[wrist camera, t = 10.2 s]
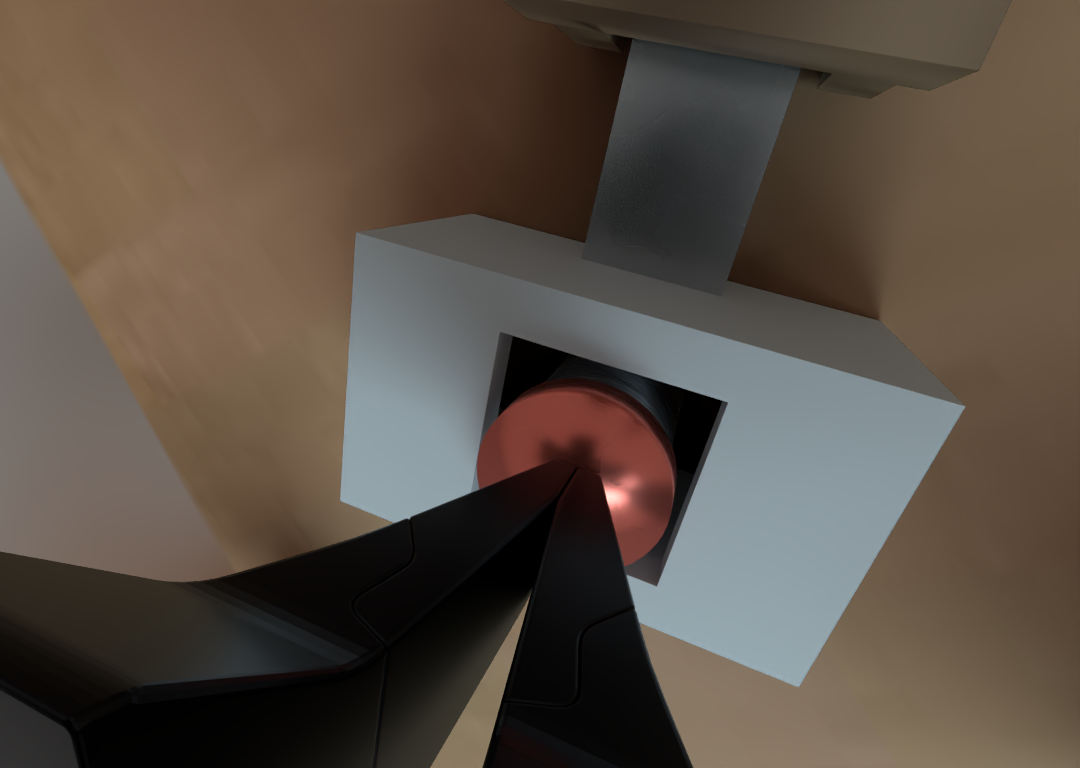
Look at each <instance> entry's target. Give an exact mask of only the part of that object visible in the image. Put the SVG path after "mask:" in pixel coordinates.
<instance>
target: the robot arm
mask: <svg viewBox="0 0 1080 768" xmlns="http://www.w3.org/2000/svg"><path fill="white" fill-rule="evenodd" d="M529 597H530V599H529V603H528V606H527V610H526V614H525V617H524V621H523V625H522V628H521V632H520V635H519V639H518V643H517V646H516V650H515V654H514V657H513V661H512V664H511V668H510V672H509V675H508V679H507V683H506V686H505V690H504V694H503V697H502V701H501V705H500V709H499V712H498V715H497V719H496V723H495V726H494V730H493V733H492V737H491V740H490V744H489V747H488V751H487V754H486V758H485V761H484V764H483V768H693V766H692V764H691V761H690V759H689V756H688V754H687V752H686V749H685V747H684V744H683V742H682V739H681V737H680V735H679V732H678V730H677V727H676V725H675V722H674V720H673V718H672V715H671V713H670V710H669V708H668V705H667V703H666V701H665V698H664V696H663V693H662V690H661V688H660V685H659V682H658V680H657V677H656V675H655V672H654V669H653V667H652V664H651V661H650V658H649V654H648V651H647V648H646V645H645V641H644V638H643V635H642V631H641V627H640V623H639V619H638V616H637V612H636V611H635V605H634V601H633V597H632V593H631V590H630V586H629V582H628V578H627V574H626V570H625V566H624V563H623V559H622V555H621V551H620V547H619V543H618V539H617V536H616V532H615V528H614V524H613V520H612V516H611V512H610V509H609V505H608V501H607V497H606V493H605V489H604V485H603V482H602V478H601V476H600V475H598V474H595V473H592V472H590V471H587V470H584V469H578V470H576V468H575V467H574V466H573V465H570V464H567V463H564V462H561V461H559V460H551V461H548V462H546V463H543V464H541V465H538V466H536V467H533V468H531V469H528V470H526V471H523V472H521V473H518V474H516V475H513V476H511V477H508V478H506V479H503V480H501V481H498V482H496V483H493V484H491V485H488V486H486V487H483V488H481V489H478V490H476V491H473V492H471V493H468V494H466V495H463V496H461V497H458V498H456V499H453V500H451V501H448V502H446V503H443V504H441V505H438V506H436V507H433V508H431V509H428V510H426V511H423V512H421V513H418V514H416V515H413V516H411V517H410V519H408V518H406V519H403V520H401V521H398V522H396V523H393V524H391V525H388V526H385V527H383V528H380V529H377V530H375V531H372V532H369V533H366V534H364V535H361V536H358V537H355V538H352V539H349V540H346V541H343V542H339V543H336V544H333V545H330V546H327V547H324V548H320V549H317V550H314V551H310V552H307V553H303V554H300V555H297V556H293V557H290V558H286V559H283V560H279V561H276V562H273V563H269V564H266V565H262V566H259V567H255V568H252V569H249V570H245V571H242V572H238V573H235V574H231V575H227V576H223V577H220V578H215V579H210V580H203V581H193V582H167V581H159V580H153V579H147V578H142V577H136V576H131V575H126V574H120V573H115V572H109V571H104V570H98V569H92V568H87V567H81V566H76V565H70V564H65V563H60V562H54V561H48V560H44V559H38V558H32V557H27V556H21V555H16V554H11V553H5V552H0V768H430V767H431V765H432V763H433V762H434V760H435V758H436V757H437V755H438V753H439V751H440V750H441V748H442V746H443V745H444V743H445V741H446V739H447V738H448V736H449V734H450V733H451V731H452V729H453V727H454V726H455V724H456V722H457V721H458V719H459V717H460V715H461V714H462V712H463V710H464V709H465V707H466V705H467V703H468V702H469V700H470V698H471V697H472V695H473V693H474V691H475V690H476V688H477V686H478V685H479V683H480V681H481V679H482V678H483V676H484V674H485V673H486V671H487V669H488V667H489V666H490V664H491V662H492V661H493V659H494V657H495V655H496V654H497V652H498V650H499V649H500V647H501V645H502V643H503V642H504V640H505V638H506V637H507V635H508V633H509V631H510V630H511V628H512V626H513V625H514V623H515V621H516V619H517V618H518V616H519V614H520V613H521V611H522V609H523V607H524V606H525V604H526V602H527V600H528V598H529Z"/></svg>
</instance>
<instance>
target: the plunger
mask: <svg viewBox="0 0 1080 768" xmlns="http://www.w3.org/2000/svg"><path fill="white" fill-rule="evenodd" d="M683 393H684V389H683V388H680V387H677V386H673V385H670V384H667V383H664V382H660V381H657V380H654V379H651V378H648V377H644V376H641V375H638V374H635V373H631V372H628V371H625V370H622V369H618V368H615V367H612V366H609V365H606V364H602V363H599V362H596V361H593V360H589V359H586V358H583V357H580V356H576V355H573V354H570V355H569V356H568V357H567V358H566V359H565V360H564V361H563V363H562V364H561V365H560V366H559V367H558V368H557V369H556V370H555V372H554V373H553V374H552V375H551V376H550V377H549V378H548V379H547V381H546V382H543V383H541V384H538V385H536V386H534V387H532V388H530V389H528V390H527V391H525V392H523V393H522V394H521V395H520V396H519V397H517V398H516V399H515V400H514V401H513V402H512V403H511V404H510V405H509V406H508V407H507V408H506V409H505V410H504V412H503V413H502V414H501V415H500V416H499V417H498V418H497V419H496V420H495V421H494V422H493V424H492V425H491V426H490V428H489V429H488V431H487V432H486V434H485V436H484V438H483V440H482V443H481V445H480V449H479V453H478V460H477V479H478V485H479V489H481V488H483V487H486V486H488V485H491V484H493V483H496V482H498V481H501V480H503V479H506V478H508V477H511V476H513V475H516V474H518V473H521V472H523V471H526V470H528V469H531V468H533V467H536V466H538V465H541V464H543V463H546V462H548V461H551V460H559V461H561V462H564V463H567V464H570V465H573V466H574V467H575V468H576V470H578V469H584V470H587V471H590V472H592V473H595V474H598V475H600V476H601V478H602V482H603V485H604V489H605V493H606V497H607V501H608V505H609V509H610V512H611V516H612V520H613V524H614V528H615V532H616V536H617V539H618V543H619V547H620V551H621V555H622V559H623V563H624V566H627V565H630V564H631V563H633V562H635V561H637V560H639V559H640V558H642V557H643V556H644V555H646V554H647V553H648V552H649V551H650V550H651V549H652V548H653V547H654V546H655V545H656V544H657V543H658V541H659V540H660V538H661V537H662V535H663V533H664V531H665V529H666V527H667V525H668V522H669V518H670V515H671V510H672V505H673V499H674V493H675V488H676V479H677V468H676V460H675V455H674V451H673V448H672V446H673V441H674V436H675V432H676V427H677V423H678V418H679V413H680V409H681V404H682V400H683Z"/></svg>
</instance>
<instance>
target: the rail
mask: <svg viewBox="0 0 1080 768" xmlns="http://www.w3.org/2000/svg"><path fill="white" fill-rule="evenodd" d="M800 70H801V68H799V67H793V66H787V65H782V64H776V63H770V62H765V61H759V60H754V59H748V58H742V57H737V56H731V55H726V54H720V53H714V52H709V51H703V50H697V49H692V48H686V47H681V46H675V45H669V44H664V43H658V42H652V41H647V40H641V39H636V38H633V39H632V44H631V48H630V52H629V56H628V61H627V65H626V69H625V74H624V78H623V82H622V87H621V91H620V95H619V99H618V104H617V108H616V112H615V117H614V121H613V125H612V130H611V134H610V138H609V143H608V147H607V151H606V155H605V160H604V164H603V168H602V173H601V177H600V181H599V186H598V190H597V194H596V198H595V203H594V207H593V211H592V216H591V220H590V224H589V229H588V233H587V237H586V242H585V246H584V250H583V254H582V259H584V260H588V261H591V262H595V263H599V264H603V265H606V266H610V267H614V268H617V269H621V270H625V271H628V272H632V273H636V274H640V275H643V276H647V277H651V278H654V279H658V280H662V281H665V282H669V283H673V284H677V285H680V286H684V287H688V288H691V289H695V290H699V291H702V292H706V293H710V294H714V295H717V296H722V293H723V290H724V287H725V285H726V282H727V279H728V276H729V273H730V270H731V267H732V265H733V262H734V259H735V256H736V253H737V250H738V247H739V245H740V242H741V239H742V236H743V233H744V230H745V227H746V225H747V222H748V219H749V216H750V213H751V210H752V207H753V205H754V202H755V199H756V196H757V193H758V190H759V187H760V185H761V182H762V179H763V176H764V173H765V170H766V167H767V165H768V162H769V159H770V156H771V153H772V150H773V147H774V144H775V142H776V139H777V136H778V133H779V130H780V127H781V124H782V122H783V119H784V116H785V113H786V110H787V107H788V104H789V102H790V99H791V96H792V93H793V90H794V87H795V84H796V82H797V79H798V76H799V73H800Z"/></svg>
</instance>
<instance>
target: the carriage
mask: <svg viewBox="0 0 1080 768" xmlns="http://www.w3.org/2000/svg"><path fill="white" fill-rule="evenodd" d="M503 1H504V2H505V3H507V4H508V5H509V6H511V7H512V8H513V9H515V10H516V11H517V12H519V13H520V14H521V15H523V16H524V17H525V18H527V19H529V20H534V21H540V22H546V23H551V24H554V25H555V26H556V27H557V28H558V29H560V30H561V31H562V32H563V33H565V34H566V35H567V36H568V37H569V38H571V39H572V40H573V41H574V42H575V43H577V44H578V45H582V46H588V47H593V48H599V49H604V50H609V51H615V52H620V53H623V49H624V44H625V40H626V37H630V38H636V39H641V40H647V41H652V42H658V43H664V44H669V45H675V46H681V47H686V48H692V49H697V50H703V51H709V52H714V53H720V54H726V55H731V56H737V57H742V58H748V59H754V60H759V61H765V62H770V63H776V64H782V65H787V66H793V67H799V68H804V69H810V70H815V71H821V72H823V74H822V77H821V79H820V82H819V85H818V88H817V89H821V90H826V91H832V92H837V93H842V94H848V95H853V96H859V97H864V98H870V99H871V98H873V97H875V96H876V95H878V94H880V93H882V92H884V91H886V90H888V89H890V88H892V87H893V86H895V85H900V86H905V87H911V88H917V89H922V90H928V91H930V90H933V89H935V88H938V87H940V86H942V85H945V84H947V83H950V82H952V81H955V80H957V79H959V78H962V77H964V76H967V75H969V74H972V73H974V72H977V71H979V69H980V67H981V65H982V63H983V61H984V59H985V57H986V55H987V52H988V50H989V48H990V46H991V44H992V42H993V40H994V37H995V35H996V33H997V31H998V29H999V27H1000V25H1001V23H1002V20H1003V18H1004V16H1005V14H1006V12H1007V10H1008V8H1009V5H1010V3H1011V1H1012V0H503Z"/></svg>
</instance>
